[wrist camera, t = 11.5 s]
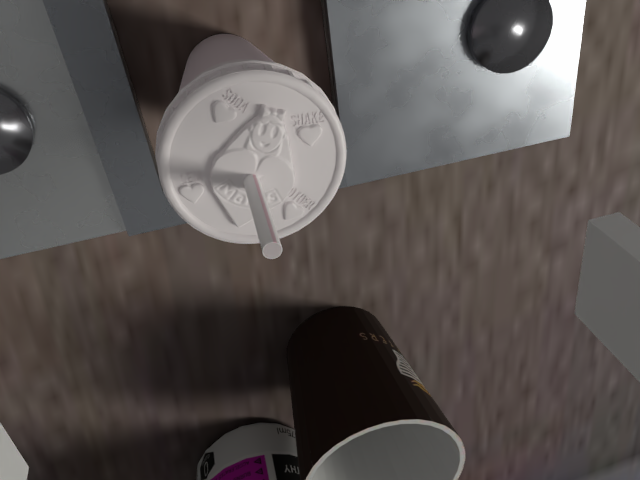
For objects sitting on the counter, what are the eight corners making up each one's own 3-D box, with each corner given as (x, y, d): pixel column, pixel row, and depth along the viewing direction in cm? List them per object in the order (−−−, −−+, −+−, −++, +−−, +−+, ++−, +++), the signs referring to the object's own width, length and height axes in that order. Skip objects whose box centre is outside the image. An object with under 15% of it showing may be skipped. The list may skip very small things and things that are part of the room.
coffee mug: (253, 318, 36) (283, 456, 28) (390, 274, 37) (458, 397, 28) (297, 437, 43) (332, 577, 34) (412, 398, 43) (473, 526, 35)
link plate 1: (-40, 261, 30) (-47, 275, 29) (-201, -18, 22) (-217, -12, 21) (380, 167, 32) (387, 177, 31) (360, -111, 25) (368, -109, 24)
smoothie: (141, 122, 28) (135, 311, 17) (170, -19, 25) (187, 93, 14) (271, 151, 30) (344, 335, 19) (312, 25, 28) (426, 152, 16)
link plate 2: (129, 223, 31) (128, 242, 29) (28, -56, 23) (20, -50, 22) (557, 127, 34) (575, 140, 32) (587, -148, 26) (612, -148, 25)
